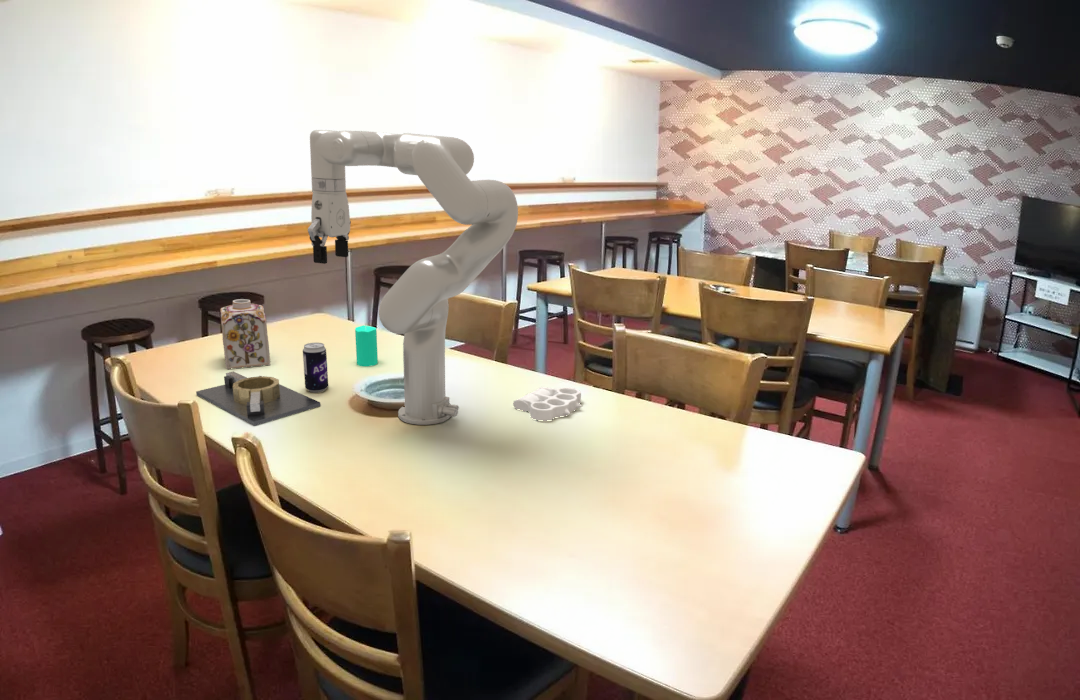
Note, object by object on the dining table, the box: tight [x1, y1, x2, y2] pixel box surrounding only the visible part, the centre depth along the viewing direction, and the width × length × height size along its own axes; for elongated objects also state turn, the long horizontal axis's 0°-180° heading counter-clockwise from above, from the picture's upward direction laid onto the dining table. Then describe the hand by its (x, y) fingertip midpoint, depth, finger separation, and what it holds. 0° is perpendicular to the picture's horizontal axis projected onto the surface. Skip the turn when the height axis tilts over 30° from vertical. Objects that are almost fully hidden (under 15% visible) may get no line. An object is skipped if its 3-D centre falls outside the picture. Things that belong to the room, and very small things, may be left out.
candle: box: [354, 322, 379, 367], centre depth 201 cm, size 6×6×12 cm
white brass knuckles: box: [512, 386, 583, 421], centre depth 172 cm, size 3×18×15 cm
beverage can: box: [302, 342, 329, 394], centre depth 179 cm, size 6×6×12 cm
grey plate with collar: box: [195, 370, 322, 427], centre depth 171 cm, size 28×17×4 cm, turn 50°
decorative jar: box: [219, 298, 271, 370], centre depth 198 cm, size 12×12×18 cm
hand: (331, 259), depth 167 cm, fingers open, 9 cm apart
